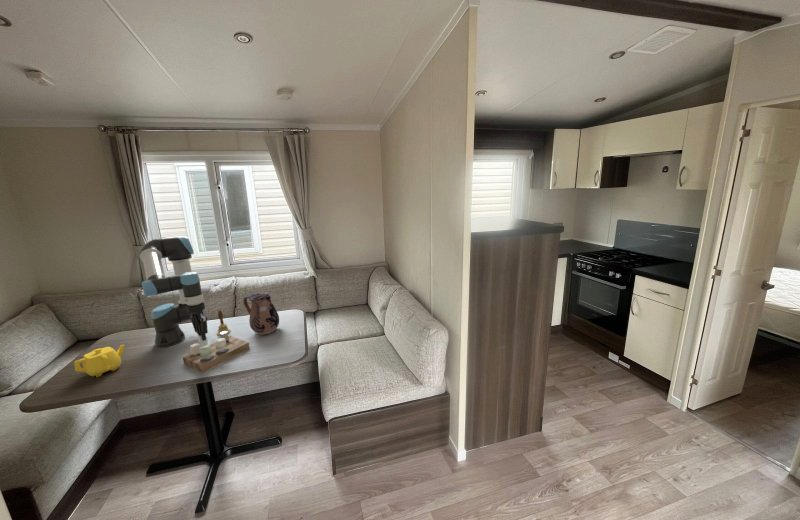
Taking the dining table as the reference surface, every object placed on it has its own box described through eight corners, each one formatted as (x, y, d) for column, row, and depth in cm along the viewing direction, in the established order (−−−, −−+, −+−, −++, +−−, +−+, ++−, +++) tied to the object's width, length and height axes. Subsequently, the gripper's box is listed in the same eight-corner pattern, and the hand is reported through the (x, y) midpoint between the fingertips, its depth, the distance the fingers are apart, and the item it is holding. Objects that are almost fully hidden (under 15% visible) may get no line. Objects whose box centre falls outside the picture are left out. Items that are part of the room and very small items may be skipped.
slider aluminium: (221, 340, 175) (219, 333, 174) (226, 338, 178) (224, 330, 176) (224, 341, 174) (222, 334, 173) (229, 339, 176) (227, 331, 175)
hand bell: (233, 331, 197) (229, 308, 193) (222, 336, 190) (217, 313, 186) (225, 329, 200) (221, 307, 197) (213, 334, 193) (208, 311, 189)
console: (183, 363, 161) (182, 356, 160) (230, 341, 183) (229, 335, 182) (202, 372, 152) (201, 365, 151) (249, 348, 173) (248, 342, 172)
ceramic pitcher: (274, 337, 185) (268, 300, 179) (240, 339, 186) (233, 301, 180) (284, 325, 202) (279, 290, 196) (254, 326, 203) (248, 291, 197)
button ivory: (214, 348, 162) (212, 341, 161) (223, 343, 166) (222, 337, 165) (219, 350, 160) (217, 343, 159) (228, 345, 164) (227, 339, 163)
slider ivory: (191, 354, 162) (189, 345, 161) (197, 351, 164) (195, 343, 163) (194, 355, 160) (192, 347, 159) (200, 352, 163) (198, 344, 162)
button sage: (198, 355, 155) (196, 348, 154) (208, 350, 160) (207, 343, 159) (203, 357, 153) (202, 350, 152) (213, 352, 157) (212, 346, 156)
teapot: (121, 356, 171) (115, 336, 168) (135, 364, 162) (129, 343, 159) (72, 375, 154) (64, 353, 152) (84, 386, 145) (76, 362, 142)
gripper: (180, 303, 150) (189, 346, 155) (193, 307, 143) (203, 351, 149) (196, 298, 156) (205, 339, 161) (209, 302, 149) (218, 344, 155)
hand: (204, 345), depth 155 cm, fingers closed
